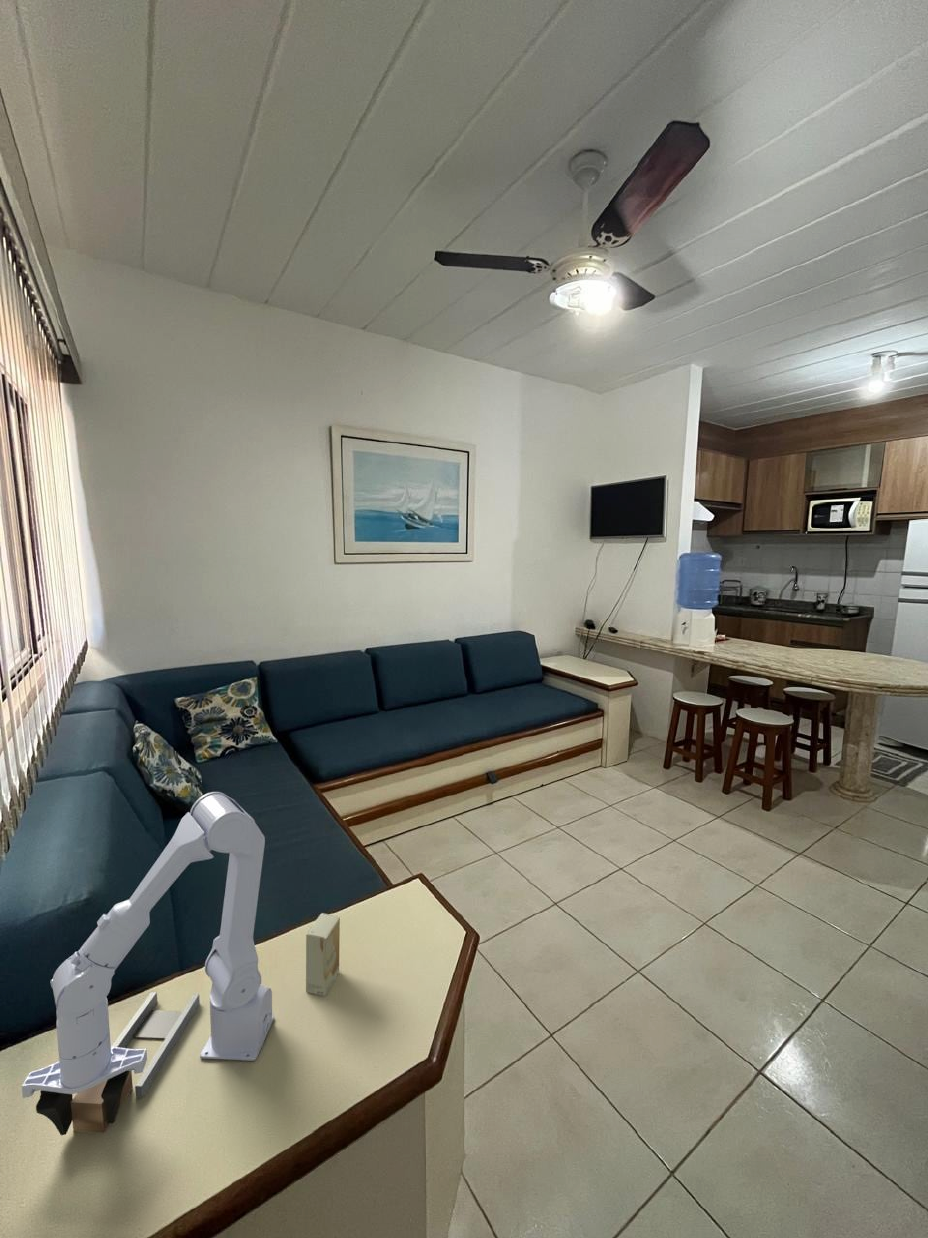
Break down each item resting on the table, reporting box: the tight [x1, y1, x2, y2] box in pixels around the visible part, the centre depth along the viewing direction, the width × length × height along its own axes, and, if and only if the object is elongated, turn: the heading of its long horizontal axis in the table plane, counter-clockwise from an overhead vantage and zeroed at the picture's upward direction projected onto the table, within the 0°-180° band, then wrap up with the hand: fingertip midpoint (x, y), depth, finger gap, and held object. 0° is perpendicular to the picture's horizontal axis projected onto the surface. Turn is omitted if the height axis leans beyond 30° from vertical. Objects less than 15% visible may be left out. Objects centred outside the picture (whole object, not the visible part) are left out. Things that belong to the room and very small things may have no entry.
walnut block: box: [71, 1070, 134, 1134], centre depth 73 cm, size 4×6×5 cm
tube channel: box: [111, 991, 201, 1098], centre depth 83 cm, size 9×16×2 cm, turn 179°
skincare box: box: [305, 912, 341, 997], centre depth 96 cm, size 6×4×12 cm
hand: (90, 1121), depth 71 cm, fingers open, 5 cm apart
